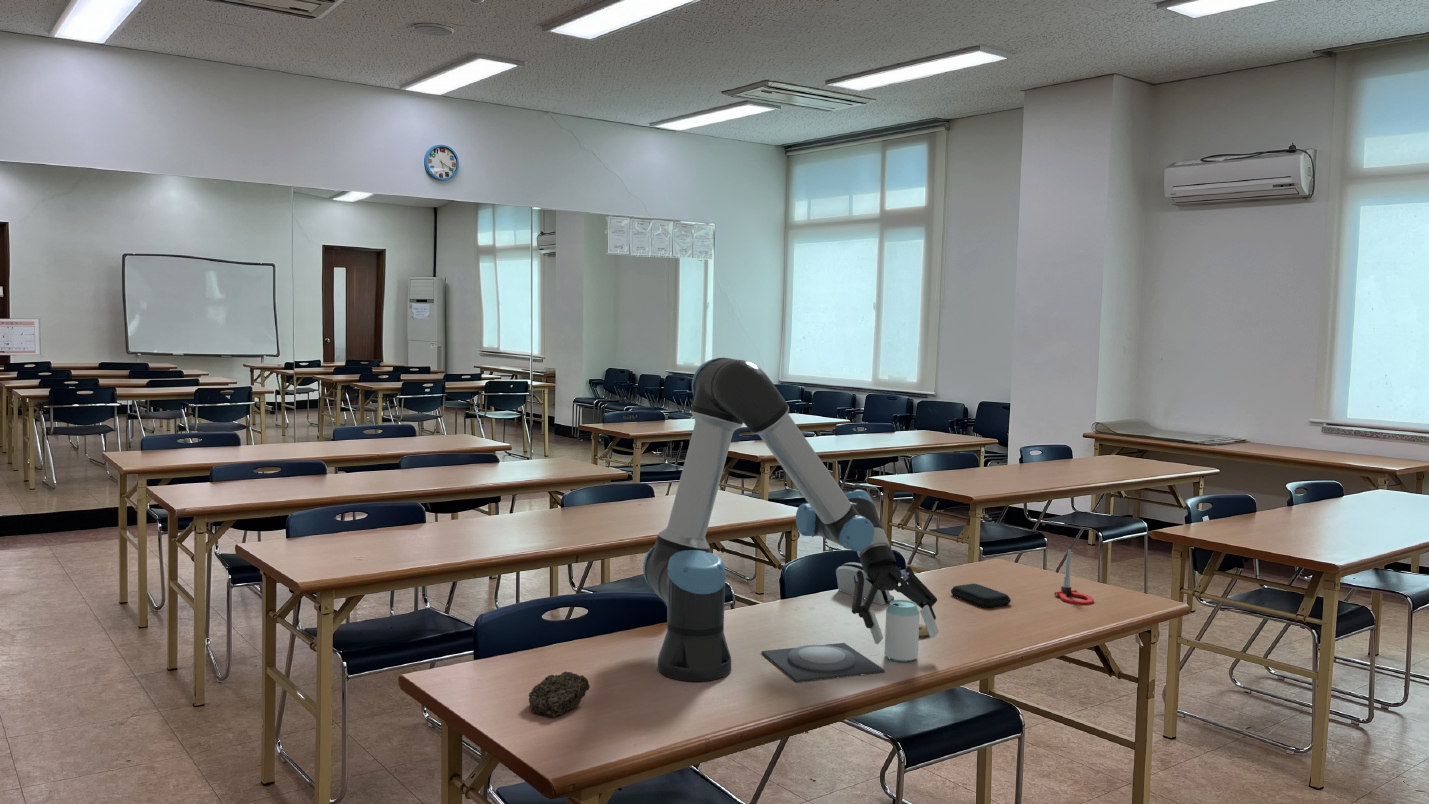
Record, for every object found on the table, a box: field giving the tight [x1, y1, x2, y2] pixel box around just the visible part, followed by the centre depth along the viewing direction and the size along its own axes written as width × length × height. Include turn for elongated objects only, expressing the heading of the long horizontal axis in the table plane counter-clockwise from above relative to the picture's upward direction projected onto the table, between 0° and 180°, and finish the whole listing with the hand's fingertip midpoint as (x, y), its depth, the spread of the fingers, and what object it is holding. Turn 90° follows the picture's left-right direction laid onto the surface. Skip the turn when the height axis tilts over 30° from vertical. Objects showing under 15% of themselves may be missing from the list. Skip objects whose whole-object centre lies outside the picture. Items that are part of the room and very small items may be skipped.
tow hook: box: [1053, 549, 1095, 606], centre depth 261 cm, size 8×13×9 cm
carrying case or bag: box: [950, 583, 1012, 609], centre depth 259 cm, size 11×3×15 cm
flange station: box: [760, 642, 886, 683], centre depth 208 cm, size 20×18×2 cm
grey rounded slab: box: [835, 562, 895, 606], centre depth 259 cm, size 17×5×10 cm, turn 35°
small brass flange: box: [919, 623, 930, 639], centre depth 230 cm, size 7×7×1 cm
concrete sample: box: [528, 671, 590, 718], centre depth 182 cm, size 12×10×5 cm
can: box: [884, 599, 921, 663], centre depth 212 cm, size 7×7×12 cm
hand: (907, 637), depth 210 cm, fingers open, 13 cm apart
